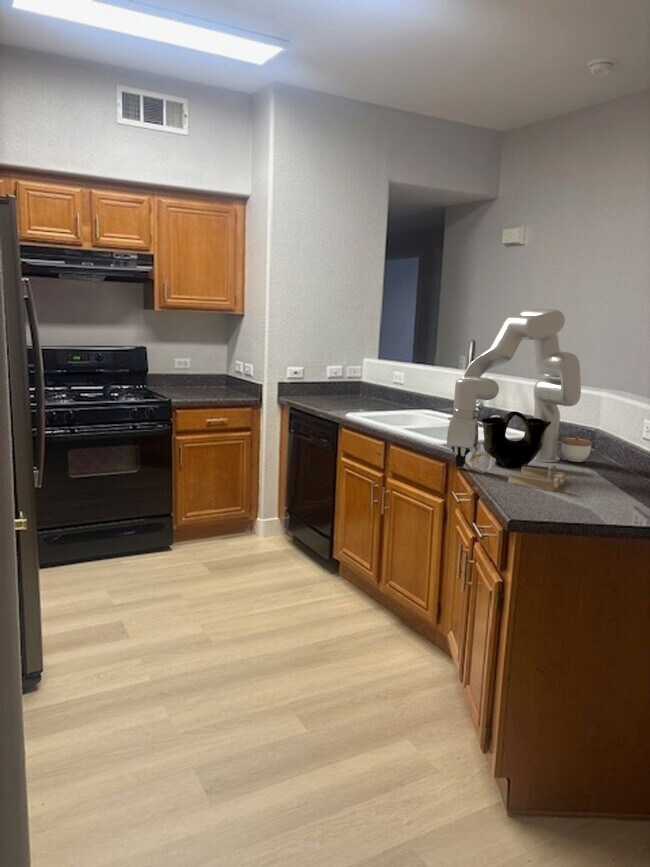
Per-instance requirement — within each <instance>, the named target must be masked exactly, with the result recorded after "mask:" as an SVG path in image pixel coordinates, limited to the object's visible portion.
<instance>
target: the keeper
mask: <svg viewBox="0 0 650 867" xmlns="http://www.w3.org/2000/svg"><path fill="white" fill-rule="evenodd" d="M556 467H557V466H556V465H553V464H550V465H548V469H541V468H535V467H530V466H525V465H523V466H521V467H520V468H521V470H520V475H519V474H513V473H510V474H508V480H507V481H508V482H507V483H508V484H511V485H516V486H521V487H527V488H534V489H537V490H544V491H548V492H554V489H555V490H556V489H557V488H559V487H560V486H562V484H564V483H565V477H566V473H565V472H560V471H556V470H557V469H556ZM563 482H564V483H563ZM559 485H560V486H559Z"/></svg>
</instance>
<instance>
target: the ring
mask: <svg viewBox="0 0 650 867" xmlns="http://www.w3.org/2000/svg"><path fill="white" fill-rule="evenodd" d="M482 456H485V457H486V458H487V459H488V466H487V467H486V469H480V470H478V469H477V468H475V461H476V460H477V459H478V458H479V457H482ZM470 462H471V468H472V469H473V470H474V471H475V472H476V473H478V474H479V473H480V474H484V473H487V472H489V470H490V469H491V467H492V465H493V458H492V456H491V455H489V454H488V453H487V451H486V452H485V450H483V449H482V450H479V451H476V453H475V454H473V456H472V459H471V461H470Z"/></svg>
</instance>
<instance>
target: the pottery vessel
mask: <svg viewBox="0 0 650 867" xmlns="http://www.w3.org/2000/svg"><path fill="white" fill-rule="evenodd" d="M515 416H517V417H518V418H520V419H521V421H522V423H523V425H524V436H523V438H522V439H519V440H511V439H509V438H507V435H506V433H507V429H508V426H509V423H510V421H511V420H512V419H513V417H515ZM480 420H481V423H482V429H483V430H482V432H483V436H484V437H483V438H484V441H483V449H484V450H483V451H485V452H486V451H487V453H486V454H488V455H490V456H491V458H492V459H495V461H494V464H496V465H498V464H501V465H500V466H503V467H505V468H518V467H520V466H522V465H523V466H528V465H529V464H530V463H531V461H533V459H534V458H535V457H536V455H537V454H538V452H539V450H540V449H541V447H542V437H543V434H544V432H545V430H546V428H547V427H548V426H549V425H550V424H551V422H548V421H547V422H546V421H544V420H542V419H537V418H534V417H533V418H526V416H525V415H523V413H521V412H519V411H511V412H509V413H506V415H504V416H503V417H500V416H499V417H496V416H493V417H484V418H482V419H480Z"/></svg>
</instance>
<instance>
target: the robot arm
mask: <svg viewBox="0 0 650 867" xmlns="http://www.w3.org/2000/svg"><path fill="white" fill-rule="evenodd" d="M565 318H566V317H565V316H564V313H563V312H562V311H561V310H560V309H556V308H553V309H551V308H526V309H523V310H521V311H520V312H519V314H513V315H510V316H508V317H507V318H506V319H505V320H504V321H503V323H502V325H501V326H500V329H499V330H498V333H497V334H496V336H495V338H494V339H493V342H492V343H491V345H490V347H489V348H488V349H487V350H486V351H484V352H482V353H481V354H480V355H479V356H478V357H475V359H474V360H473V361H471V362H470V364H469V365H468V366H467V367H466V369H465V371H464V373H463V375H462V376H461V378H458V379H457V380H456V381H455V383H454V384H455V385H454V399H453V410H452V416H451V417H450V420H449V422H448V423H449V424H448V429H447V436H446V448H447V449H450V450H452V452H453V453H454V455H455V460H454V462H455V466H456V467H457V468H458V467H459V468H462V467H464V465H465V464H466V457H467V455H468V454H469V453H475V452H477V449H478V448H477V446H478V444H479V422H478V419H477V417H480V413H479V412H477V401H478V400H483V401H491V400H493V399H495V398H496V397H497V396H498V394H499V392H500V387H499V384H498V383H497V381H496V380H494V379H491V378H488V377H482V376H483V375H485V373H486V372H487V371H490V370H491V369H493V368H495V367H498V366H501V365H504V364H506V363H507V364H508V363H509V362H510V361H511V360H512V359H513V357H514V356H515V353H516V351H517V350H518V349H519V348H518V347H519V346H520V344H521V343H522V341H523V340H525V341H526V340H527V341H533V342H534V349H535V350H534V352H535V354H534V355H535V365H536V371H537V373H538V374H539V375H541V376H545V377H547V378H545V377H544V378H541V379H538V380H537V381H536V382H535V384H534V386H533V399H534V413H533V418H537V419H542V420H544V421H546V422H547V421H548V422H551V424H550V425H549V426H548V427H547V428H546V430H545V432H544V434H543V437H542V447H541V449H540V450H539V452H538V454H537V455H536V457H535V458H534V459H533V460H532V461H533V462H540V463H547V462H554V463H558V461H559V462H560V461H561V460H560V459H561V458H560V457H559V456H557V449H558V438H559V430H560V421H561V414H560V413H561V412H560V410H559V407H558V406H563V407H574V406H576V405H577V404H578V403H579V402H580V399H581V396H582V395H581V393H582V390H581V389H582V384H581V364H580V360H579V358H578V356H576V354H574V353H573V352H570V351H569V352H568V351H561V350H560V344H559V336H558V333H560V332H561V330H562V329H563V328H564V325H565V322H566V321H565V320H566V319H565ZM549 377H550V378H549ZM551 377H554V378H551ZM559 378H560V379H559Z"/></svg>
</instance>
